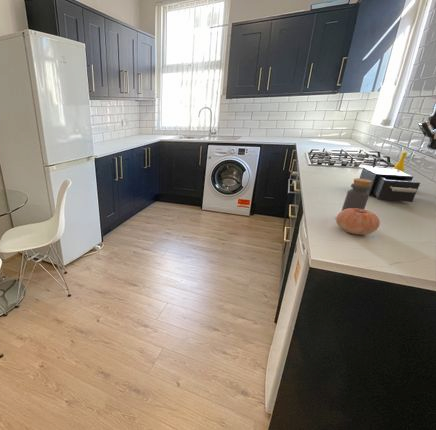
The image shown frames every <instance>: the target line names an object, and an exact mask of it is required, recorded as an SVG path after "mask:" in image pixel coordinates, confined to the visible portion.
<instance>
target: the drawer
mask: <svg viewBox="0 0 436 430" xmlns="http://www.w3.org/2000/svg"><path fill="white" fill-rule="evenodd" d="M420 184H421V182H420V181H414V180H413V179H412V180H410V179H408V178H401V177H387V176H378V177H377V179H376V182H375V185H374V188H373V190H372V193H373V194H374V195H376V196H375V197H376V199H377V200H385V201H396V202H406V203H413V201H414V200H415V196H416V195H417V192H418V190H419V188H420V186H419V185H420Z"/></svg>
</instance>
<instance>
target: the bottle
mask: <svg viewBox="0 0 436 430" xmlns="http://www.w3.org/2000/svg"><path fill="white" fill-rule="evenodd" d="M371 182H372V181H371V180H367V179H360V177H358V178H357V177H356V178H354V179H353V182H352V183H351V184H350V188H351V189H349V190H348V191H347V192H346V196H345V199H344V201H343V204H342V208H341V211H343V210H345V209H348V208H358V209H363V210H366V206H367V203H368V201H369V198H370V196H369V193H368V192H367V190H369V189H370V188H371V186H369V185H370V184H371Z"/></svg>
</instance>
